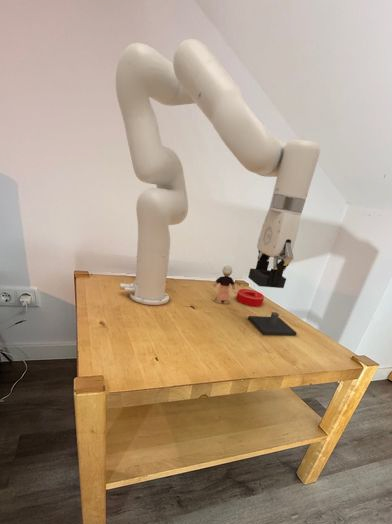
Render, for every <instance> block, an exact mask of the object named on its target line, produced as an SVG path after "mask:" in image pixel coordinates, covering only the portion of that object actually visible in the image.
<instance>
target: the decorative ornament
mask: <svg viewBox="0 0 392 524" xmlns="http://www.w3.org/2000/svg"><path fill="white" fill-rule="evenodd" d="M235 297H236V298H235V300H236V301H237V302H238V303H240V304H241V305H245V306H249V307H260V306H262V305H263V302H264V298H265V296H264V294H263V293H261V292H259V291H257V290H254V289H250V288H241V289H238V290H237V293H236V296H235Z"/></svg>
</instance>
